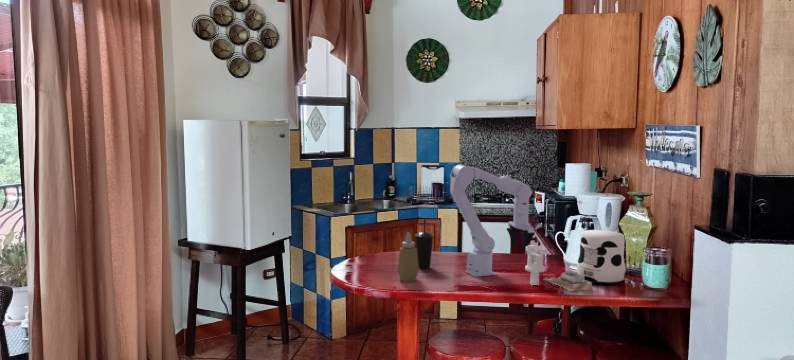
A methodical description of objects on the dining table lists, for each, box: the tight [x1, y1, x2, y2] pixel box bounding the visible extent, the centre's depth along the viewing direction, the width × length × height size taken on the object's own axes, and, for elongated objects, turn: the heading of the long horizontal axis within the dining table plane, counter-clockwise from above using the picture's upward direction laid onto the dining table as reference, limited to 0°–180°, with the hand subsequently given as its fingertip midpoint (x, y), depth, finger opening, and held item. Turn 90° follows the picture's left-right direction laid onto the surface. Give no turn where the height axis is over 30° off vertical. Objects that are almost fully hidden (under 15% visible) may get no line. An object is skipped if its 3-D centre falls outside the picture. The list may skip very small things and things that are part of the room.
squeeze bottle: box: [397, 232, 420, 282], centre depth 209 cm, size 8×8×18 cm
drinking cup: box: [414, 218, 435, 270], centre depth 227 cm, size 8×8×20 cm
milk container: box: [576, 229, 626, 285], centre depth 210 cm, size 17×17×18 cm
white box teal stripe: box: [559, 271, 584, 284], centre depth 202 cm, size 5×7×4 cm
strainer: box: [524, 244, 547, 286], centre depth 205 cm, size 7×7×15 cm
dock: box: [542, 276, 593, 292], centre depth 206 cm, size 9×17×3 cm, turn 22°
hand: (519, 247), depth 221 cm, fingers open, 7 cm apart
